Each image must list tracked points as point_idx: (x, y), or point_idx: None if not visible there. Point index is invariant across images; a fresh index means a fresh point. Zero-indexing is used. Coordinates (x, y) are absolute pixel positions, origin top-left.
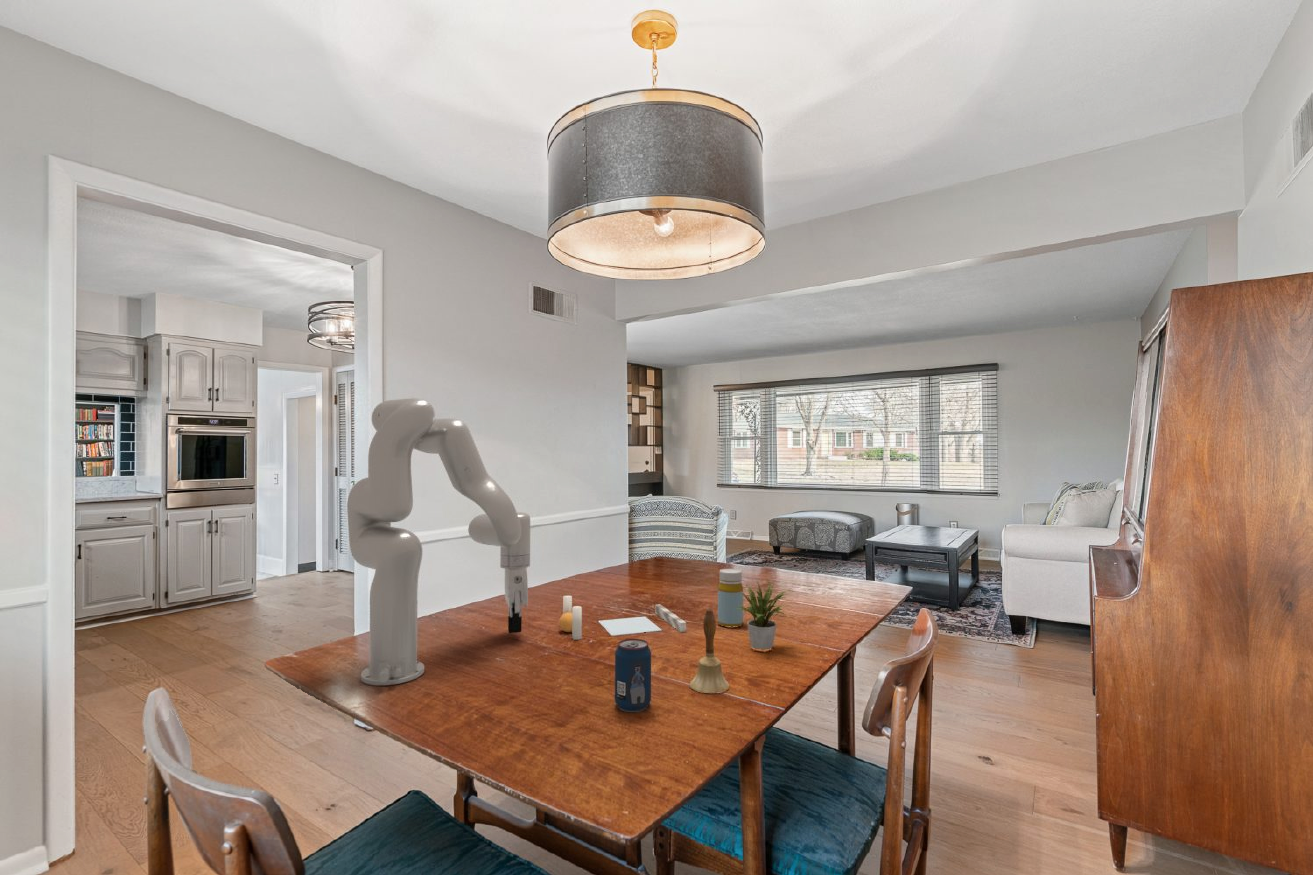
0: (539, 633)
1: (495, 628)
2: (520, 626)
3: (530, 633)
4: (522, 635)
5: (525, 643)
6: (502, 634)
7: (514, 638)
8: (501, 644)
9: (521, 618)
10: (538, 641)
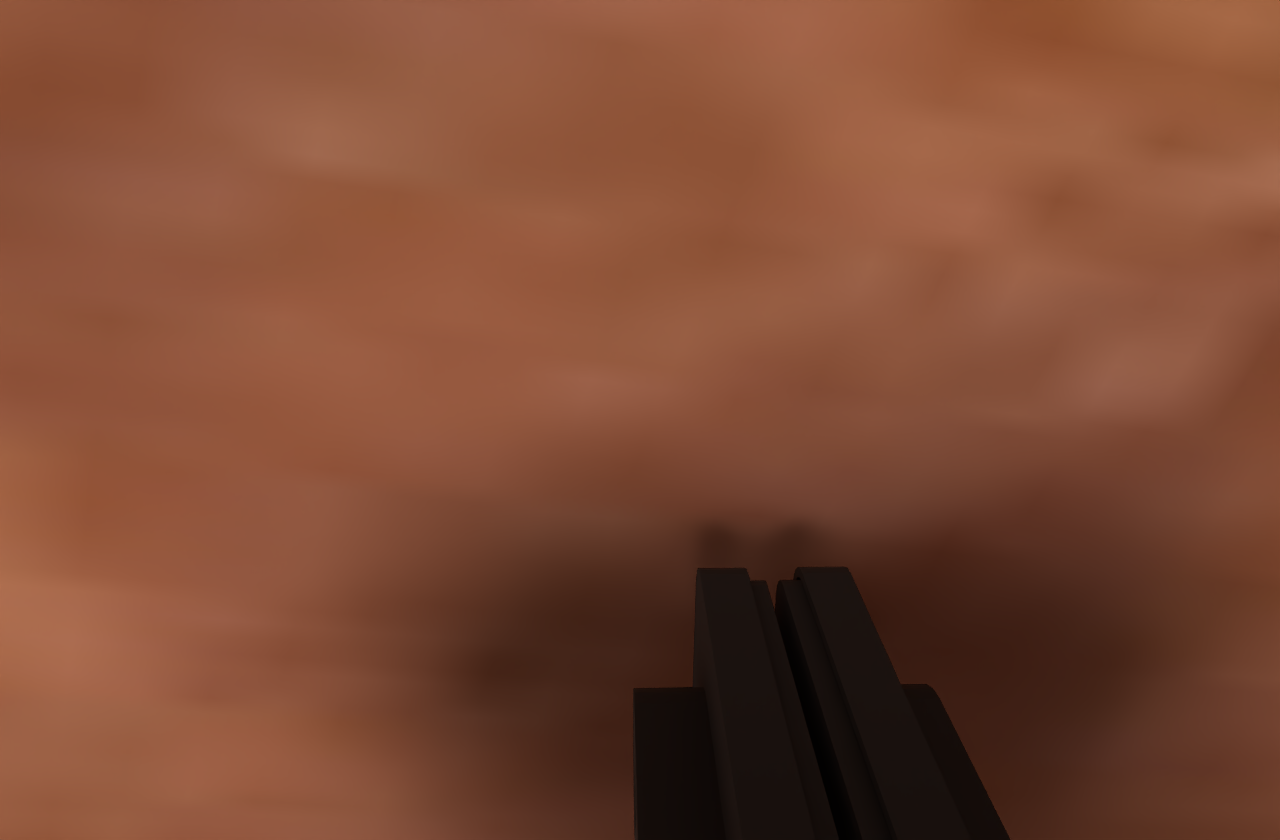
0: (635, 49)
1: (63, 832)
2: (876, 657)
3: (565, 268)
4: (657, 450)
5: (1208, 460)
6: (473, 761)
7: None
8: (1033, 810)
9: (958, 812)
10: (1238, 183)
